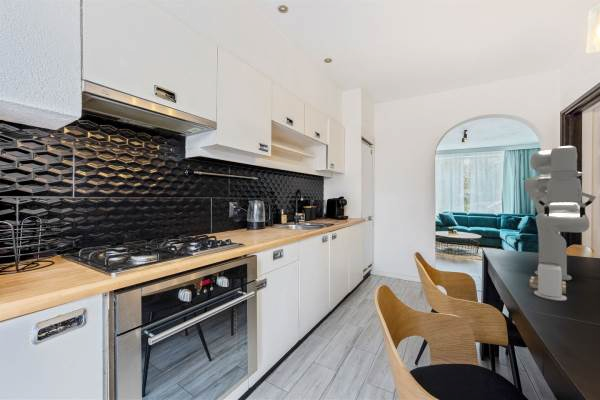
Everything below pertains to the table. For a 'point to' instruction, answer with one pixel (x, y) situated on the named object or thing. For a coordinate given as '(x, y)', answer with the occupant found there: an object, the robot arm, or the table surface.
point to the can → (549, 279)
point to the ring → (535, 284)
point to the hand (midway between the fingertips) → (563, 216)
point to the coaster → (551, 297)
